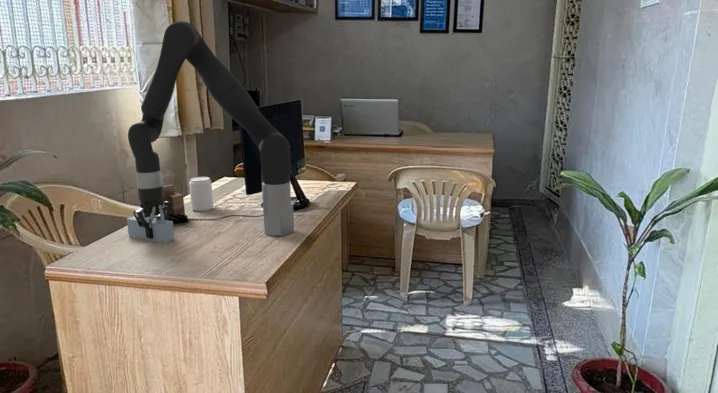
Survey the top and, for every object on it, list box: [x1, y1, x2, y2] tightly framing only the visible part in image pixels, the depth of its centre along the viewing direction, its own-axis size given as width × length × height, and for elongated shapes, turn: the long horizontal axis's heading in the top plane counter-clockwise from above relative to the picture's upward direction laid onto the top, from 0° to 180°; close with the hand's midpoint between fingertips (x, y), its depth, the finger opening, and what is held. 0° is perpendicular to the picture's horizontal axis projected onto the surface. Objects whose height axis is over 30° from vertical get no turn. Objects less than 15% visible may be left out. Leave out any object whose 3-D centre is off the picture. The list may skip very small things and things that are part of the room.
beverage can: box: [188, 176, 214, 212], centre depth 204 cm, size 8×8×12 cm
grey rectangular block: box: [126, 215, 175, 244], centre depth 173 cm, size 16×4×6 cm, turn 65°
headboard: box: [147, 184, 186, 219], centre depth 189 cm, size 6×14×12 cm, turn 140°
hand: (155, 235), depth 172 cm, fingers closed on grey rectangular block, 4 cm apart
